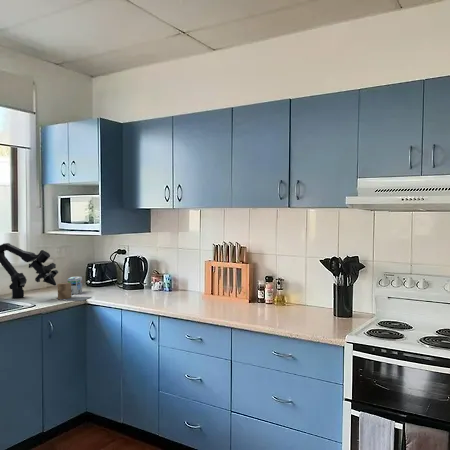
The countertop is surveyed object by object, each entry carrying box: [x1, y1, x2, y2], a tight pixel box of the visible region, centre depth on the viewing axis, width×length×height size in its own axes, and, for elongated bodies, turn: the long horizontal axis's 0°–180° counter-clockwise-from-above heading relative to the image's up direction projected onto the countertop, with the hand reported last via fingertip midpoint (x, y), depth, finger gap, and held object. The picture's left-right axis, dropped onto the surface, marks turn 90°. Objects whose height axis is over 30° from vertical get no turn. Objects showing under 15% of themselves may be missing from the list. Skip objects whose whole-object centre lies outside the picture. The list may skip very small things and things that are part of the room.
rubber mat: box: [66, 296, 92, 302], centre depth 292 cm, size 12×12×1 cm
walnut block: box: [57, 282, 72, 301], centre depth 293 cm, size 6×6×10 cm
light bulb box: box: [67, 276, 83, 295], centre depth 314 cm, size 11×7×11 cm, turn 179°
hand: (55, 285), depth 294 cm, fingers closed
